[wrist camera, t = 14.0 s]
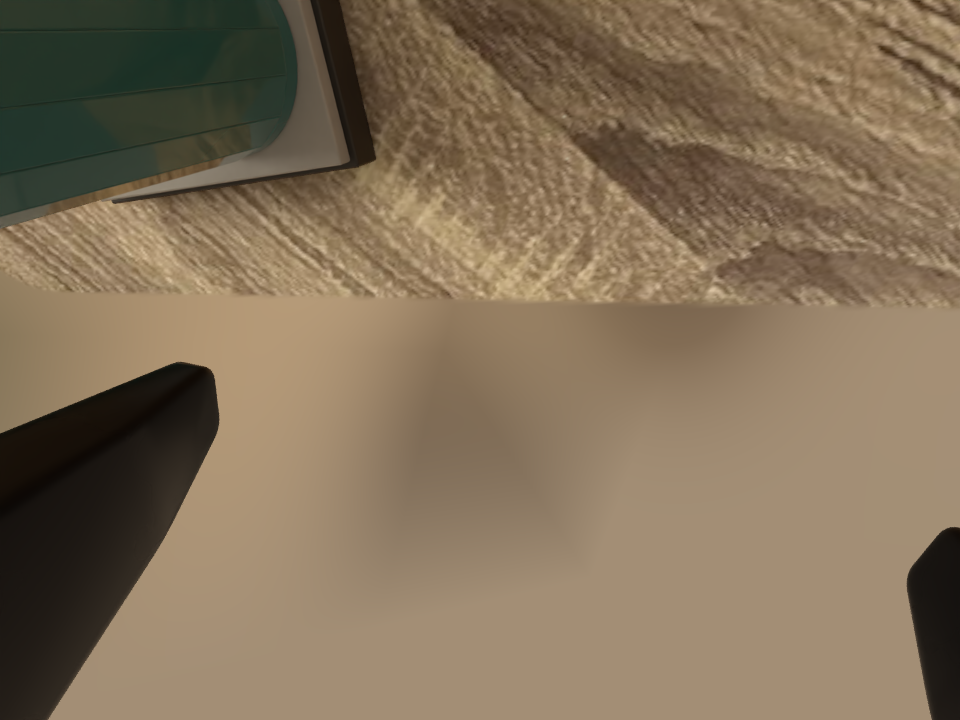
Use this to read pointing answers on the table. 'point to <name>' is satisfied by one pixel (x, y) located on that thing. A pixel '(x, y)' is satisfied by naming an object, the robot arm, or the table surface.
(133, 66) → the tumbler
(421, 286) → the table surface
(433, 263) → the table surface
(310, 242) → the table surface
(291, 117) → the scale
